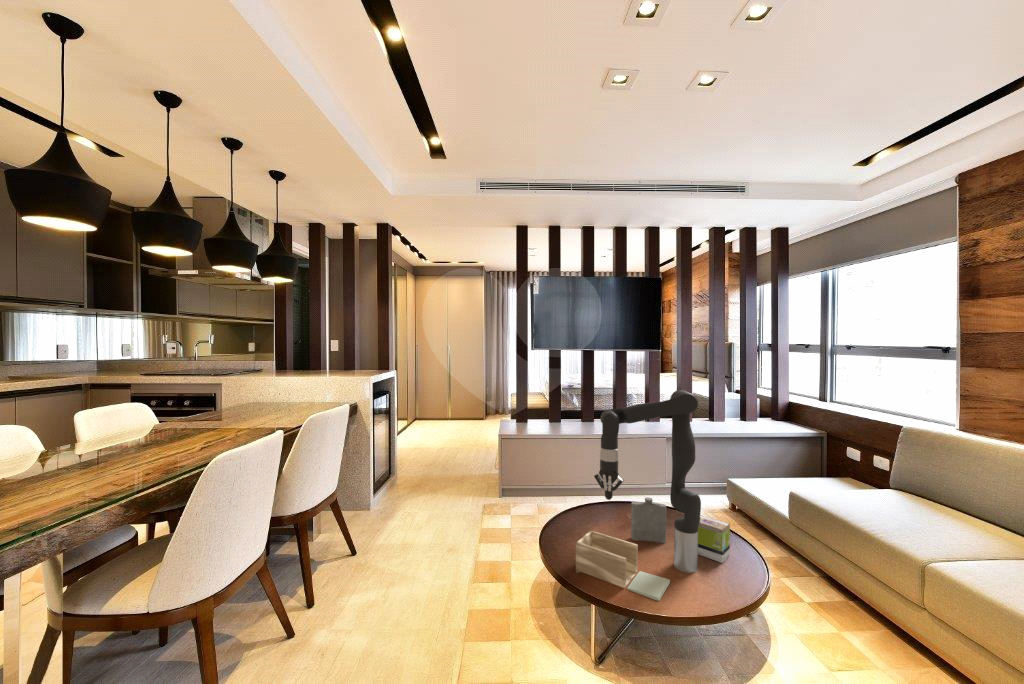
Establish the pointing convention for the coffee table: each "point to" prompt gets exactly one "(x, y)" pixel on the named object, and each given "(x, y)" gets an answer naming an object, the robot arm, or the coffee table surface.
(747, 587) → the coffee table surface
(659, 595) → the flat panel
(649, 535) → the hip flask
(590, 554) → the box
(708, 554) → the tea box
